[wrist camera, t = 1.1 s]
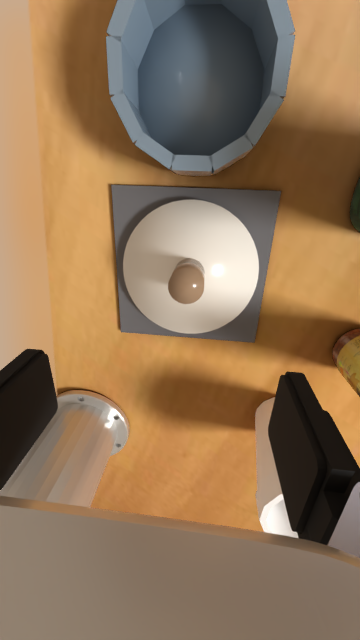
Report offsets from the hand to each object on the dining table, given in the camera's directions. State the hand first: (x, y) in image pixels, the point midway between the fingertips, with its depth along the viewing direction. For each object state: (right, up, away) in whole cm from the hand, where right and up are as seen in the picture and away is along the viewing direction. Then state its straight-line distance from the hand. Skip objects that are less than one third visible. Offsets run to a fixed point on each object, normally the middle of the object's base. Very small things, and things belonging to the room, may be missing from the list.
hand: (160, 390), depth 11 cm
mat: (+2, +8, +18) cm, 20 cm away
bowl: (+2, +22, +12) cm, 25 cm away
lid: (+2, +8, +18) cm, 20 cm away
